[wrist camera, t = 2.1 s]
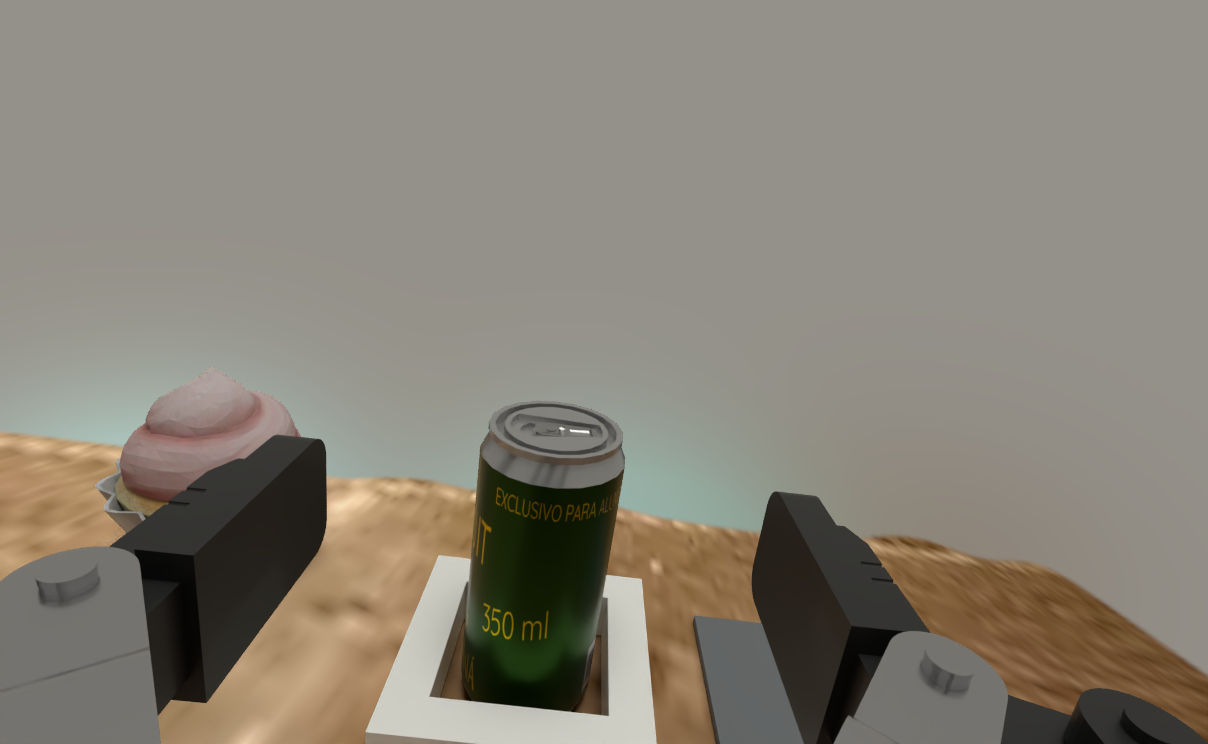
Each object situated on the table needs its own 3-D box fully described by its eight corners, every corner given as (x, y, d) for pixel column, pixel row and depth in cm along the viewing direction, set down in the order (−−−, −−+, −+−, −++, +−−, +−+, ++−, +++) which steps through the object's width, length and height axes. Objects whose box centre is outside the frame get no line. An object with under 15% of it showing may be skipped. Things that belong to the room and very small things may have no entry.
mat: (730, 817, 23) (733, 808, 22) (693, 622, 32) (694, 615, 32) (1000, 844, 23) (1003, 836, 23) (884, 644, 32) (886, 637, 32)
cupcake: (313, 495, 38) (311, 337, 35) (336, 592, 30) (337, 401, 27) (119, 521, 33) (97, 340, 30) (90, 642, 26) (57, 419, 23)
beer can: (582, 638, 30) (619, 405, 26) (592, 738, 25) (640, 467, 21) (466, 634, 29) (487, 393, 25) (452, 737, 24) (476, 454, 20)
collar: (363, 780, 22) (365, 732, 21) (436, 592, 31) (438, 555, 31) (647, 808, 22) (658, 762, 22) (634, 615, 32) (641, 578, 31)
